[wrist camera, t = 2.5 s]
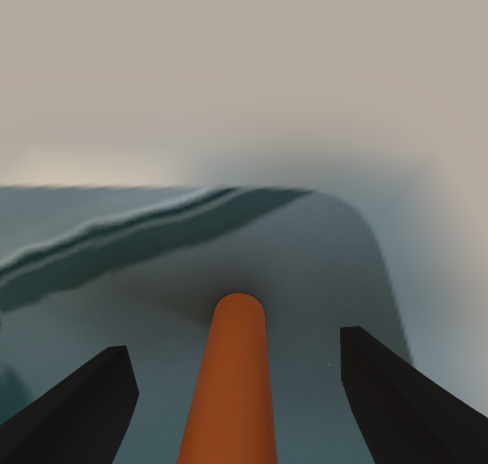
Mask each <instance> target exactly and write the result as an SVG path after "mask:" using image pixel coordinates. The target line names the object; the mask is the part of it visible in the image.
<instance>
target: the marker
mask: <svg viewBox="0 0 488 464" xmlns="http://www.w3.org/2000/svg"><path fill="white" fill-rule="evenodd" d="M176 464H278V463H277V452H276V441H275V429H274V418H273V406H272V395H271V383H270V372H269V360H268V349H267V337H266V326H265V315H264V309H263V307H262V305H261V304H260V302H259V301H258V300H257V299H256V298H254V297H253V296H251V295H248V294H245V293H233V294H229V295H227V296H225V297H224V298H222V299H221V300H220V301H219V302H218V304H217V306H216V308H215V311H214V315H213V319H212V323H211V327H210V331H209V335H208V339H207V343H206V347H205V351H204V355H203V359H202V363H201V367H200V371H199V375H198V379H197V383H196V387H195V391H194V395H193V399H192V403H191V407H190V411H189V415H188V419H187V423H186V427H185V431H184V435H183V439H182V443H181V447H180V451H179V455H178V459H177V463H176Z"/></svg>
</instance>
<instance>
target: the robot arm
mask: <svg viewBox="0 0 488 464" xmlns="http://www.w3.org/2000/svg"><path fill="white" fill-rule="evenodd" d="M340 342H341V380H342V383H343V386H344V389H345V392H346V395H347V398H348V401H349V404H350V407H351V410H352V412H353V415H354V417H355V420H356V422H357V424H358V426H359V429H360V431H361V433H362V435H363V437H364V440H365V442H366V444H367V446H368V449H369V451H370V453H371V455H372V457H373V460H374V462H375V464H488V418H487V417H486V416H484V415H482V414H481V413H479V412H478V411H476V410H475V409H473V408H471V407H470V406H468V405H467V404H465V403H464V402H462V401H461V400H459V399H458V398H456V397H455V396H453V395H452V394H450V393H449V392H447V391H446V390H444V389H443V388H442V387H440V386H439V385H437V384H436V383H434V382H433V381H432V380H430V379H429V378H427V377H426V376H424V375H423V374H422V373H420V372H419V371H418V370H416V369H415V368H414V367H412V366H411V365H409V364H408V363H407V362H405V361H404V360H403V359H401V358H400V357H399V356H397V355H396V354H395V353H394V352H392V351H391V350H390V349H388V348H387V347H386V346H384V345H383V344H382V343H381V342H379V341H378V340H377V339H375V338H374V337H373V336H372V335H370V334H369V333H368V332H366V331H365V330H364V329H362V328H361V327H360V326H355V327H343V328H340ZM138 396H139V390H138V387H137V383H136V380H135V376H134V372H133V369H132V365H131V361H130V358H129V354H128V350H127V347H126V346H114V347H108V348H107V349H105V350H103V351H102V352H100V353H99V354H98V355H96V356H95V357H93V358H92V359H91V360H89V361H88V362H87V363H85V364H84V365H82V366H81V367H80V368H78V369H77V370H76V371H74V372H73V373H72V374H70V375H69V376H68V377H66V378H65V379H64V380H62V381H61V382H60V383H58V384H57V385H56V386H54V387H53V388H52V389H50V390H49V391H48V392H46V393H45V394H44V395H42V396H41V397H40V398H38V399H37V400H35V401H34V402H33V403H31V404H30V405H28V406H27V407H26V408H24V409H23V410H21V411H20V412H19V413H17V414H16V415H14V416H13V417H12V418H10V419H9V420H7V421H6V422H4V423H3V424H2V425H0V464H112V462H113V460H114V458H115V456H116V453H117V451H118V449H119V447H120V445H121V442H122V440H123V438H124V436H125V433H126V431H127V429H128V426H129V423H130V421H131V418H132V415H133V412H134V409H135V406H136V403H137V400H138Z"/></svg>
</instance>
